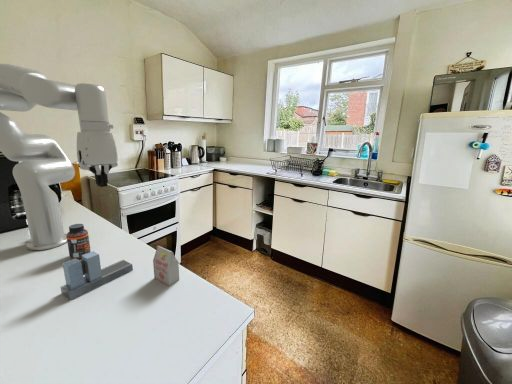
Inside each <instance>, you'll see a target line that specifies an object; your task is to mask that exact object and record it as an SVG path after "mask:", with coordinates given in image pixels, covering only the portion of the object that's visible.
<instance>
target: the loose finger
mask: <svg viewBox="0 0 512 384" xmlns="http://www.w3.org/2000/svg"><path fill="white" fill-rule="evenodd" d="M80 261H81V263H83V264H84V270H85V275H84V276H85V278H86V279H88V280H89V281H93V280H95V279H97V278H99V277H101V276H102V273H101V269H102V267H101V266H102V265H101V259H100V254H99V253H98V252H96V251H94V250H93V251H91V252H90V253H87V254H84V255H82V259H80Z"/></svg>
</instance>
